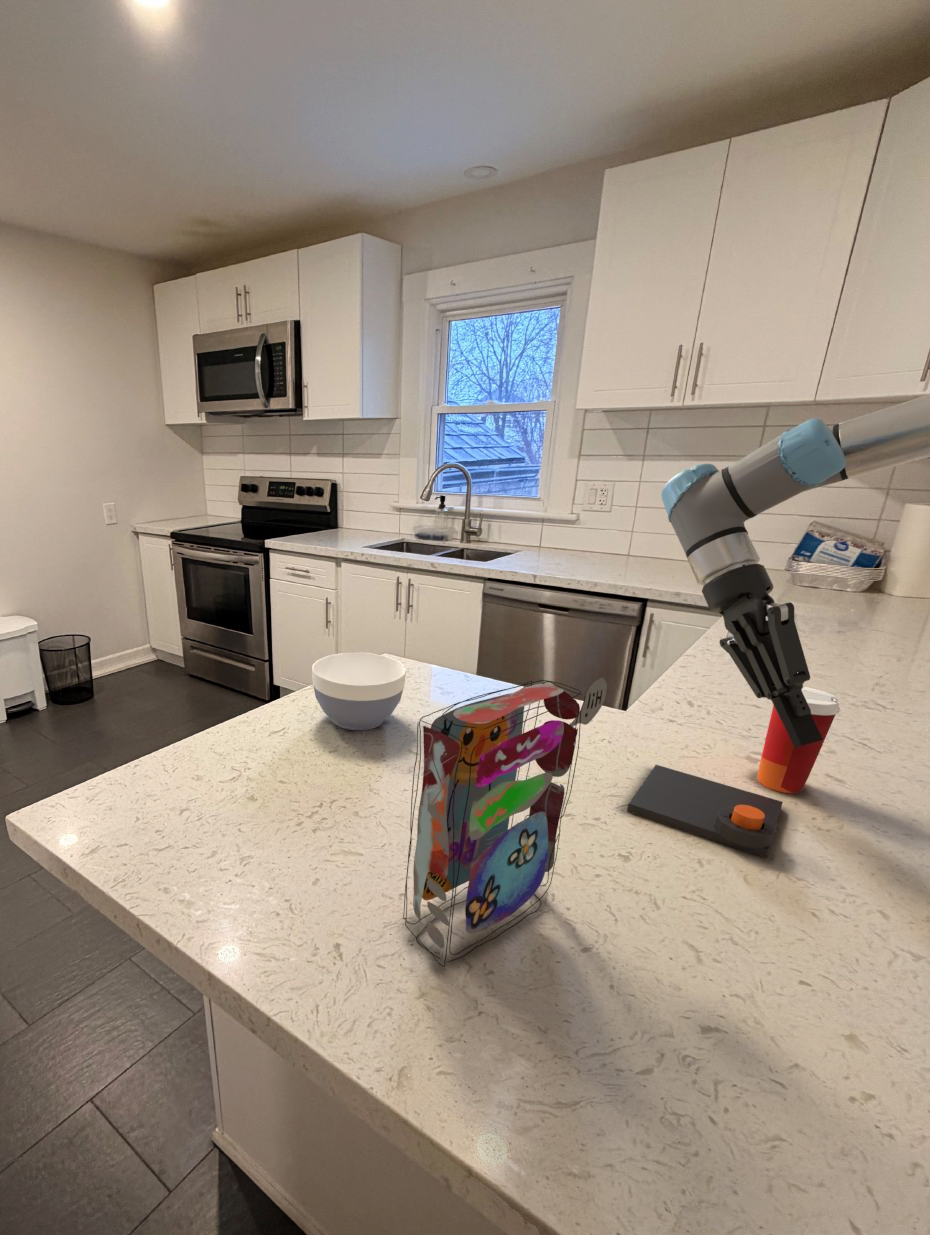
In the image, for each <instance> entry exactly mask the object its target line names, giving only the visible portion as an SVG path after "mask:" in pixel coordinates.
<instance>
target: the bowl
mask: <svg viewBox="0 0 930 1235" xmlns="http://www.w3.org/2000/svg"><path fill="white" fill-rule="evenodd" d="M406 674H407V668H406V666H405V665H404V664H403V663H402V662H401V661H399V660H397V659H395V658H393V657H390V656H386V655H382V654H377V653H370V652H341V653H334V654H329V655H326V656H324V657H323V656H322V657H321V658H319V659H317V660H316V661H314V662H313V664H312V666H311V676H312V686H313V692H314V696H315V699H316V701H317V702H318V705H319V706H320V709H321V710H322V712H323V713H324V714H325V715H326V716H328V717H329V718H330V720H331V722H332V724H334V725H335V726H337V727H339V728H342V729H345V730H350V731H368V730H373V729H376V728H378V727H380V726H381V725H382V724H383V723H384V721H385V720H386V719H387V718H389V717H390V716H392V714H393V712H394V711H395V710H396V708H397V707H398V705H399V704H400V702H401V699H402V695H403V692H404V688H405V684H406V683H405V682H406Z"/></svg>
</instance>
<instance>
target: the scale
mask: <svg viewBox="0 0 930 1235" xmlns="http://www.w3.org/2000/svg"><path fill="white" fill-rule="evenodd" d="M737 805H748V806H752V807H755V808H757V809H759V810H761V811H762V812H763V813H764V815H765V818H764V821H763V824H762V827H761V829H760V830H749V829H746V828H742V827H739V826H738V825H736V824H734V823H733V822H732V821H731V817H732V814H733V811H734V808H735V806H737ZM782 806H783V801H781V800H778V799H775V798H771V797H768V796H764V795H761V794H758V793H754V792H752V791H747V790H744V789H741V788H738V787H734V786H730V785H728V784H723V783H720V782H717V781H714V780H710V779H706V778H704V777H699V776H697V775H693V774H689V773H686V772H682V771H679V770H676V769H672V768H670V767H666V766H662V765H659V764H654V766H653V767H652V769H651V771H650V772H649V773H648V775H647V776H646V777H645V779H644V781H643V782H642V783H641V785H640V786H639V788H638V789H637V790H636V792H635V794H634V795H633V796H632V798H631V799H630V801H629V802H628V804H627V808H626V811H627V812H629V813H632V814H635V815H638V816H641V817H644V818H647V819H649V820H651V821H652V820H653V821H655V822H658V823H662V824H664V825H666V826H670V827H673V828H677V829H679V830H682V831H685V832H687V833H690V834H692V835H693V834H694V835H697V836H699V837H702V838H705V839H709V840H712V841H714V842H716V843H720V844H723V845H726V846H729V847H732V848H735V849H736V850H737V849H738V850H740V851H743V852H747V853H748V854H749V853H750V854H752V855H754V856H757V857H761V858H764V859H767V858H768V855H769V852H770V849H771V846H772V844H773V841H774V839H775V838H774V837H775V835H776V831H777V824H778V820H779V817H780V813H781V809H782Z"/></svg>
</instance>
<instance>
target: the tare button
mask: <svg viewBox="0 0 930 1235" xmlns="http://www.w3.org/2000/svg"><path fill="white" fill-rule="evenodd" d="M764 818H765V815H764V813H763V812H762V811H761V810H759V809H757V808H755V807H752V806H748V805H737V806H735V808H734V811H733V814H732V817H731V821H732V822H733V823H734V824H736V825H738V826H739V827H742V828H746V829H749V830H760V829H761V827H762V824H763V821H764Z"/></svg>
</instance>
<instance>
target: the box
mask: <svg viewBox="0 0 930 1235" xmlns="http://www.w3.org/2000/svg"><path fill="white" fill-rule="evenodd" d="M540 682H542V683H540ZM535 683H536V684H535ZM546 683H550V684H553V685H555V686H553V685H550V684H546ZM526 685H529V686H526ZM561 685H562V686H561ZM522 686H523V687H522ZM563 686H565V687H567V688H565V687H563ZM520 687H522V688H520ZM516 688H520V689H519V690H516V691H514V692H511V693H505V694H502V695H498V696H494V697H490V698H486V699H482V698H485V697H488V696H490V695H492V694H497V693H501V692H504V691H508V690H511V689H512V690H513V689H516ZM568 688H570V689H572V690H570V689H568ZM607 688H608V686H607V681H606V680H605V678H604V677H601V678H598V679H596V680H595V681H594V682H592V684H591V685H590V687H589V688H588V690H587V691H586V694H584V699H583V702H582V705H581V706H580V703H578V701H577V700H576V699H575V698H577V697H578V696H579V695H580V696H583V694H582V690H580V689H578V688H575V687H572V686H569V685H567V684H564V683H561V682H556V681H552V680H547V679H546V680H545V679H541V680H536V681H533V680H532V679H531V680H528V681H527V682H525V683H522V684H520V685H517V686H512V687H508V688H504V689H500V690H495V691H491V692H487V693H483V694H480V695H476V696H472V697H470V698H467V699H465V700H462V701H458V702H456V703H454V704H451V705H448V706H446V707H445V708H444V707H443V708H442V709H441V708H440V709H439V710H436V711H433V712H430V713H429V714H427V715H423V716H422V717H420V718H419V719H417V720H418V724H417V727H416V754H415V762H414V767H413V775H412V785H411V798H410V800H411V802H410V818H411V820H410V824H409V825H410V828H409V830H410V839H409V845H408V856H407V868H406V876H405V877H406V878H405V886H404V896H405V897H404V900H403V913H402V914H403V916H402V919H403V920H404V921H405V922H404V923H405V924H404V925H405V926H404V927H406V928H407V929H408V931H409V932H410V933H411V934H412V935H413V936H414V938H415V941H416V942H417V943H418V944H419V945H420V946H421V947H422V948H424V949H425V950H426V951H427V952H429V953H430V955H431V956H432V957H433V959H434V961H436V962H437V963H438V965H440V966H441V967H442V968H445V967H446V962H448V963H450V962H454V961H456V960H458V959H461V958H463V957H465V956H467V955H468V954H470V953H471V952H473V950H475V949H477V948H478V947H480V946H482V945H485V944H487V943H489V942H491V941H493V940H495V939H497V938H498V937H499V936H501V935H502V934H503V933H504V932H506V931H507V930H509V929H511V928H514V927H515V926H516V925H518V924H519V923H521V922H522V921H523V920H524V919H526V918H527V917H529V915H532V914H534V913H536V912H538V911H539V909H540V908H541V906H542V901H541V900H542V898H543V897H544V896H545V894H546V893H547V892H548V890H549V889H550V886H551V884H552V882H553V876H554V872H555V871H554V870H555V865H556V861H557V857H558V851H559V843H560V837H561V835H560V834H561V826H562V825H561V824H562V818H563V817H564V815H565V812H566V809H567V806H568V803H569V800H570V796H571V794H572V789H573V784H574V783H573V782H574V779H575V778H574V777H575V772H576V766H577V762H578V756H579V751H580V750H579V749H580V740H581V739H580V738H581V724H582V725H585V726H586V725H588V724H590V723H591V722H592V721H593V719H594V718H595V717H596V716H597V714H598V713H599V711H600V710H601V708H602V706H603V704H604V702H605V700H606V696H607V690H608V689H607ZM565 690H566V691H568V692H570V693H573V694H576V695H574V696H572V695H571V694H569V693H568V692H566V691H565ZM573 690H575V691H576V692H575V691H573ZM477 699H478V701H474V700H477ZM479 699H482V700H479ZM471 701H473V702H471ZM541 701H543V705H540V703H541ZM465 702H470V703H467V704H465V705H462V706H459V707H456V706H458V705H459V704H463V703H465ZM537 702H538V703H537ZM535 703H537V704H538V706H536V707H531V705H532V704H535ZM525 706H528V708H527V709H526V710H525ZM455 707H456V708H455ZM544 707H545V709H546V711H544V712H541V713H539V708H544ZM453 708H454V709H453ZM446 709H447V710H446ZM451 709H452V710H451ZM535 709H536V710H537V711H536V715H534V716H532V717H530V718H528V715H529V711H531V710H535ZM444 710H446V711H444ZM441 711H444V712H443V713H442V715H439V716H438V717H437V718H435V719H434V720H433V722H432V723H429V722H427V721H424V720H422V719H423V718H425V717H429V716H431V715H433V714H436V713H439V712H441ZM525 713H526V715H525ZM546 713H549V714H550V715H552V716H553V717H555V718H558V719H560V720H555V719H554V720H553V719H552V720H548V721H544V723H543V724H541V725H540V726H536V725H537V720H538V717H539V716H542V715H543V714H546ZM524 715H525V719H524ZM534 718H535V721H534V722H535V723H534V727H533V728H532V729H530V730H527V731H525V725H526V722H528V721H530V720H531V719H534ZM562 720H572V722H570V723H567V722H565V721H562ZM421 722H422V723H424V724H427V725H429V726H430V727H428V726H427V725H422V728H421ZM577 725H579V726H578V727H577ZM421 729H422V730H421ZM422 732H423V736H422V734H421V733H422ZM577 736H578V744H577ZM422 737H423V774H422V785H421V786H422V788H421V792H420V794H421V795H420V800H419V807H418V812H417V813H418V814H417V829H416V830H417V833H416V844H415V850H414V856H413V870H412V871H413V897H412V908H413V912H414V916H416V918H417V919H418V921H416V922H415V923H413V922H409V921H408V920H407V918H408V874H409V864H410V858H411V850H412V842H413V841H412V838H413V837H412V834H413V826H414V817H415V816H414V815H415V808H416V802H417V796H418V789H419V788H418V787H419V781H420V780H419V779H420V770H421V760H422V744H421V743H422V742H421V740H422V739H421V738H422ZM576 745H577V751H576V757H575V763H574V769H573V775H572V778H571V784H570V777H571V771H572V766H573V760H574V755H575V748H576ZM418 750H419V751H418ZM418 752H419V764H418V774H417V783H416V792H415V797H414V785H415V784H414V783H415V771H416V767H417V762H418ZM533 761H535V763H536V764H537V766H538V767H539V768H540V769H541V770H542V771H543V772H542V773H540V774H537V775H534V776H532V777H529V778H528V774H529V770H530V766H531V762H533ZM526 764H528V768H527V772H526V775H525V776H526V777H525V779H524V780H523V779H522V780H521V779H520V780H519V775H520V769H521V767H523V766H524V765H526ZM568 771H569V773H568ZM567 773H568V780H567V786H566V792H565V786H564V785H563V784H560V783H559V784H557V783H555V782H553V777H555V778H560V777H564V776H565V775H566V774H567ZM569 784H570V790H569ZM568 790H569V791H570V792H569V794H568ZM567 795H568V798H567ZM413 797H414V805H413ZM566 798H567V800H566ZM528 809H529V814H527V815H525V816H524V819H523V820H520V822H517V823H516V824H514V825H513V822H514V815H516V814H519V813H523V812H524V811H526V810H528ZM510 817H511V818H512V819H511V825H510V828H509V824H510ZM557 833H558V834H557ZM556 843H557V845H556ZM555 850H556V851H555ZM551 870H552V873H551V878H549V874H550V871H551ZM546 873H547V881H546V883H544V884H543V885H541V884H542V882H543V880H544V876H545V875H546ZM549 879H550V882H549ZM466 883H468V886H466V887H464V888H462V889H461V890H460V891H459V892H457V888H458V887H460V886H461V885H464V884H466ZM548 883H549V885H548V887H547V889H546V890H545V892H544V893H543V894H542V895H541V896H540V898H539V896H537V895H536V893H537V891H538V890H539V887H544V886H546V885H547V884H548ZM466 889H467V891H466V892H467V893H466V899H465V900H463V901H460V902H456V897H457V896H458V895H460V894H461V893H462V892H463V891H464V890H466ZM450 891H452V892H451V898H450V899H448V900H447V894H446V893H448V892H450ZM533 896H535V897H536V899H537V900H536V901H535V902H533V904H531V905H530V906H529V907H528V908H526V909H525V910H524V911H523V912H522V913H520V914H519V915H518V916H516V917H514V918H513V919H511V920H509V921H508V922H506V923H505V924H503V925H500V926H499V927H498V928H496V929H495V930H493V931H491V932H490V933H489V934H487V935H486V936H484V937H483V938H481V939H480V940H478V941H476V942H473V943H472V944H470V945H468V946H466V947H465V948H463V949H462V950H460V951H458V952H456V953H452V952H451V943H452V932H453V920H454V911H455V906H457V905H459V904H461V903H462V904H463V903H464V902H465V909H464V910H465V911H464V912H465V913H464V914H465V915H464V916H465V932H466V933H467V935H472V934H476V933H479V932H482V931H486V930H488V929H490V928H492V927H494V926H495V925H497V924H499V923H500V922H502V921H504V920H506V919H507V918H509V917H511V916H513V915H514V913H516V912H517V911H518V910H519V909H520V908H521V907H523V906H524V905H525V904H526V903H527V902H528V901H530V900H531V898H532V897H533ZM436 898H438V899H439V900H441V901H442V903H441V904H440V905H439V906H437V905H436V904H434V903H432V902H431V901H429V900H433V899H436ZM422 900H424V901H427V902H426V903H427V904H426V905H427V908H428V911H429V912H430V913H429V914H426V915H425V916H423V917H421V913H422V912H421V911H422V910H421V904H422ZM448 902H450V905H449V906H448V907H446V908H444V909H443V910H442V909H441V908H440V907H441V906H443V905H444V904H445V903H448ZM538 902H539V903H540V904H539V905H538V908H537V909H536V910H534V911H532V912H530V913H527V914H526V915H525V916H524V917H522V918H521V919H520V920H518V922H516V923H514V924H513V925H511V926H509V927H508V928H506V929H504V930H503V931H502V932H500V933H499V934H498V935H496V936H495V937H492V938H491V939H489V940H487V941H484V942H482V941H483V940H485V939H487V938H488V937H489V936H491V935H492V934H493V933H495V932H496V931H498V930H499V929H501V928H503V927H504V926H507V925H508V924H510V923H511V922H513V921H515V920H516V919H518V918H519V917H521V916H522V915H523V914H525V913H526V912H528V910H529V909H531V908H532V907H533V906H535V905H536V903H538ZM449 908H450V909H449ZM448 909H449V910H450V911H449V919H448V917H447V915H446V913H445V912H444V911H446V910H448ZM430 915H433V916H434V919H432V920H431V921H429V920H428V921H427V922H426V925H425V927H424V928H423V929H422V930H421V931H420V932H419V933H418V934H417V935H415V934H414V933H413V931H412V930H411V929H410V928H409V927H408V926H407V923H408V924H410V925H416V924H418V923H419V922H421V921H422V920H423V919H425V918H426V917H428V916H430ZM436 919H438V920H439V921H440V922H441V923H442V924H443V925H444V926H447V927H448V928H447V937H446V938H447V939H446V940H445V937H444V934H443V933H442V931H441V930H440V929H439V928H438V927H437V926H435V925H434V924H433V922H434V921H435V920H436ZM424 930H426V933H427V935H428V936H429V938H430V939H431V941H432V942H433V943H434V944H435V945H436V946H437V947H438V948H440V949H444V948H445V956H444V957H445V958H444V960H442V959H441V958H440V957H439V956H437V955H436V954H435V953H433V951H431V950H429V948H428V947H427V946H426V945H425V944H424V943H423V942H422V941H421V940H420V939H419V938H418V937H419V935H420V934H422V932H423V931H424ZM449 935H450V936H449ZM445 941H446V942H445ZM480 942H482V943H480ZM448 943H449V946H448ZM478 943H480V944H478ZM476 944H478V945H476ZM474 945H476V946H475V947H473V948H471V950H469V951H468V952H467V953H465V954H463V955H461V956H459V957H456V958H453V959H451V960H447V952H448V950H449V953H450V955H451V956H457V955H458V954H459V955H460V954H461V953H462V952H464V951H465V950H466V949H468V948H470V947H472V946H474ZM445 946H446V947H445ZM448 947H449V948H448ZM438 960H440V962H441V961H442V962H443V964H441V963H440V962H439V961H438ZM446 960H447V961H446Z"/></svg>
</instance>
